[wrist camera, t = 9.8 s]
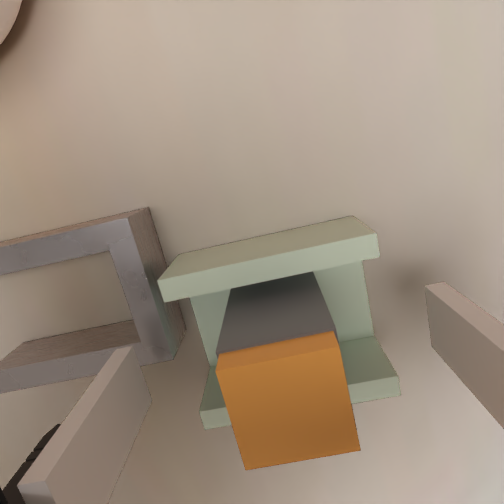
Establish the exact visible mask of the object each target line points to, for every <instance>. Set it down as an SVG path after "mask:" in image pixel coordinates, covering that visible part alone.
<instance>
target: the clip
mask: <svg viewBox="0 0 504 504" xmlns="http://www.w3.org/2000/svg"><path fill="white" fill-rule="evenodd" d="M109 250H110V253H111V256H112V259H113V262H114V265H115V268H116V270H117V273H118V276H119V279H120V282H121V285H122V288H123V291H124V294H125V297H126V299H127V302H128V305H129V308H130V311H131V314H132V317H133V320H129V321H124V322H120V323H115V324H110V325H105V326H100V327H96V328H91V329H86V330H81V331H77V332H72V333H67V334H62V335H57V336H53V337H48V338H43V339H38V340H33V341H29V342H24V343H22V344H21V345H20V346H18V347H17V348H16V349H15V350H13V351H12V352H11V353H10V354H8V355H7V356H6V357H5V358H3V359H2V360H1V361H0V393H5V392H10V391H16V390H21V389H26V388H31V387H36V386H41V385H46V384H51V383H56V382H61V381H67V380H72V379H77V378H82V377H87V376H92V375H97V374H98V373H99V372H100V370H101V369H102V367H103V366H104V365H105V363H106V362H107V361H108V359H109V358H110V356H111V355H112V354H113V352H114V351H115V350H116V349H119V348H124V347H129V346H133V348H134V350H135V353H136V356H137V359H138V362H139V365H140V366H143V365H148V364H153V363H158V362H163V361H169V360H173V359H174V357H175V354H176V352H177V350H178V347H179V345H180V343H181V341H182V338H183V336H184V334H185V331H186V327H185V324H184V321H183V318H182V314H181V311H180V308H179V305H178V301H177V300H174V301H170V302H165V303H164V300H163V297H162V294H161V291H160V288H159V285H158V282H157V280H158V279H159V278H160V277H161V275H162V274H163V273H164V272H165V271H166V269H167V266H166V262H165V259H164V256H163V253H162V249H161V246H160V243H159V240H158V236H157V233H156V230H155V227H154V223H153V220H152V217H151V214H150V210H149V207H147V208H142V209H138V210H134V211H130V212H125V213H121V214H117V215H113V216H108V217H104V218H100V219H96V220H92V221H87V222H83V223H79V224H75V225H70V226H66V227H62V228H58V229H53V230H49V231H45V232H41V233H37V234H32V235H28V236H24V237H20V238H15V239H11V240H7V241H3V242H0V275H4V274H8V273H12V272H17V271H21V270H25V269H30V268H34V267H39V266H43V265H47V264H52V263H56V262H61V261H65V260H69V259H74V258H78V257H83V256H87V255H91V254H96V253H100V252H105V251H109Z"/></svg>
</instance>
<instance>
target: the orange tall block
mask: <svg viewBox="0 0 504 504" xmlns="http://www.w3.org/2000/svg"><path fill="white" fill-rule="evenodd" d="M216 355H217V359H218V362H217V366H216V371H215V372H216V375H217V378H218V382H219V385H220V388H221V391H222V395H223V398H224V401H225V405H226V408H227V411H228V414H229V418H230V421H231V424H232V427H233V431H234V434H235V437H236V440H237V444H238V447H239V450H240V454H241V457H242V460H243V463H244V467H245V470H250V469H256V468H262V467H268V466H274V465H279V464H285V463H291V462H297V461H303V460H308V459H314V458H320V457H326V456H331V455H337V454H343V453H349V452H355V451H360V445H359V440H358V435H357V429H356V424H355V419H354V414H353V409H352V404H351V399H350V394H349V389H348V385H347V380H346V375H345V370H344V365H343V360H342V355H341V350H340V346H339V341H338V336H337V331H336V327H335V324H334V322H333V319H332V317H331V314H330V312H329V309H328V307H327V304H326V302H325V300H324V297H323V295H322V292H321V290H320V287H319V285H318V282H317V280H316V277H315V275H314V273H313V271H312V272H307V273H302V274H297V275H293V276H288V277H283V278H278V279H274V280H269V281H264V282H260V283H255V284H250V285H245V286H241V287H236V288H231V290H230V294H229V298H228V302H227V306H226V310H225V315H224V319H223V323H222V327H221V331H220V335H219V339H218V344H217V348H216Z"/></svg>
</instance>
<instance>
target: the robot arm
mask: <svg viewBox="0 0 504 504" xmlns="http://www.w3.org/2000/svg"><path fill="white" fill-rule="evenodd" d="M424 287H425V295H426V303H427V312H428V320H429V328H430V336H431V345H432V347H433V349H434V350H435V351H436V352H437V353H438V354H439V355H440V357H441V358H442V359H443V360H444V361H445V362H446V363H447V365H448V366H449V367H450V368H451V369H452V370H453V371H454V373H455V374H456V375H457V376H458V377H459V378H460V379H461V381H462V382H463V383H464V384H465V385H466V386H467V387H468V389H469V390H470V391H471V392H472V393H473V394H474V395H475V397H476V398H477V399H478V400H479V401H480V402H481V403H482V405H483V406H484V407H485V408H486V409H487V410H488V411H489V413H490V414H491V415H492V416H493V417H494V418H495V419H496V421H497V422H498V423H499V424H500V425H501V426H502V427H503V429H504V324H502V323H501V322H500V321H498V320H497V319H495V318H494V317H493V316H491V315H490V314H488V313H487V312H486V311H484V310H483V309H481V308H480V307H479V306H477V305H476V304H474V303H473V302H472V301H470V300H469V299H467V298H466V297H465V296H463V295H462V294H460V293H459V292H458V291H456V290H455V289H454V288H452V287H451V286H449V285H448V284H447V283H445V282H440V283H435V284H430V285H425V286H424ZM151 402H152V398H151V396H150V393H149V390H148V387H147V384H146V381H145V379H144V376H143V373H142V370H141V367H140V365H139V362H138V359H137V356H136V353H135V350H134V348H133V346H129V347H124V348H119V349H116V350H115V351H114V352H113V354H112V355H111V356H110V358H109V359H108V361H107V362H106V363H105V365H104V366H103V367H102V369H101V370H100V372H99V373H98V374H97V376H96V377H95V378H94V380H93V381H92V383H91V384H90V385H89V387H88V388H87V389H86V391H85V392H84V394H83V395H82V396H81V398H80V399H79V401H78V402H77V403H76V405H75V406H74V407H73V409H72V410H71V412H70V413H69V414H68V416H67V417H66V418H65V420H64V421H63V423H62V424H57V425H56V426H55V427H54V428H53V429H51V430H50V431H49V432H48V433H47V434H46V435H45V436H43V438H42V439H41V440H40V442H39V443H38V444H37V446H36V447H35V448H34V452H31V454H30V455H29V456H28V458H27V459H26V462H25V463H23V464H22V465H21V467H20V468H19V469H18V471H17V472H16V473H15V475H14V476H13V477H12V479H11V480H10V481H9V483H8V484H7V485H6V487H5V488H4V489H3V491H2V490H1V488H0V504H108V501H109V499H110V497H111V494H112V492H113V490H114V487H115V485H116V483H117V480H118V478H119V476H120V474H121V471H122V469H123V467H124V464H125V462H126V460H127V457H128V455H129V453H130V450H131V448H132V446H133V443H134V441H135V439H136V437H137V434H138V432H139V430H140V427H141V425H142V423H143V420H144V418H145V416H146V413H147V411H148V409H149V406H150V404H151Z"/></svg>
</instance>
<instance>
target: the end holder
mask: <svg viewBox="0 0 504 504" xmlns="http://www.w3.org/2000/svg"><path fill="white" fill-rule="evenodd" d="M378 257H380V253H379V246H378V240H377V233H376V232H374V231H373V230H372V229H370V228H369V227H368V226H366V225H365V224H363V223H362V222H361V221H359V220H358V219H357V218H355V217H354V216H349V217H344V218H340V219H336V220H331V221H327V222H322V223H318V224H313V225H309V226H304V227H300V228H295V229H291V230H286V231H282V232H277V233H273V234H268V235H264V236H259V237H255V238H250V239H246V240H241V241H237V242H232V243H228V244H223V245H219V246H214V247H210V248H205V249H201V250H196V251H192V252H187V253H183V254H179V255H178V256H177V257H176V258H175V260H174V261H173V262H172V263H171V264H170V266H169V267H168V268H167V269H166V271H165V272H164V273H163V274H162V275H161V277H160V278H159V279H158V280H157V282H158V285H159V288H160V291H161V294H162V297H163V300H164V303H165V302H170V301H174V300H179V299H184V298H188V297H189V298H190V302H191V305H192V308H193V312H194V315H195V318H196V322H197V325H198V328H199V332H200V335H201V339H202V342H203V345H204V349H205V352H206V355H207V359H208V362H209V365H210V370H209V374H208V378H207V382H206V386H205V390H204V394H203V398H202V402H201V406H200V410H199V414H200V417H201V420H202V423H203V426H204V429H205V430H208V429H214V428H219V427H225V426H231V425H232V424H231V421H230V418H229V414H228V411H227V408H226V405H225V401H224V398H223V395H222V391H221V388H220V385H219V382H218V378H217V375H216V372H215V371H216V366H217V362H218V359H217V355H216V348H217V344H218V339H219V335H220V331H221V327H222V323H223V319H224V315H225V310H226V306H227V302H228V298H229V294H230V290H231V288H236V287H241V286H245V285H250V284H255V283H260V282H264V281H269V280H274V279H278V278H283V277H288V276H293V275H297V274H302V273H307V272H312V271H313V273H314V275H315V277H316V280H317V282H318V285H319V287H320V290H321V292H322V295H323V297H324V300H325V302H326V304H327V307H328V309H329V312H330V314H331V317H332V319H333V322H334V324H335V327H336V331H337V336H338V341H339V346H340V350H341V355H342V360H343V365H344V370H345V375H346V380H347V385H348V389H349V394H350V399H351V404H355V403H361V402H366V401H372V400H378V399H383V398H389V397H395V396H400V395H401V391H400V384H399V378H398V375H397V373H396V371H395V370H394V368H393V366H392V365H391V363H390V361H389V360H388V358H387V356H386V355H385V353H384V351H383V350H382V348H381V346H380V344H379V343H378V341H377V339H376V338H375V336H374V331H373V325H372V319H371V313H370V307H369V300H368V294H367V288H366V282H365V276H364V270H363V264H362V261H364V260H368V259H373V258H378Z"/></svg>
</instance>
